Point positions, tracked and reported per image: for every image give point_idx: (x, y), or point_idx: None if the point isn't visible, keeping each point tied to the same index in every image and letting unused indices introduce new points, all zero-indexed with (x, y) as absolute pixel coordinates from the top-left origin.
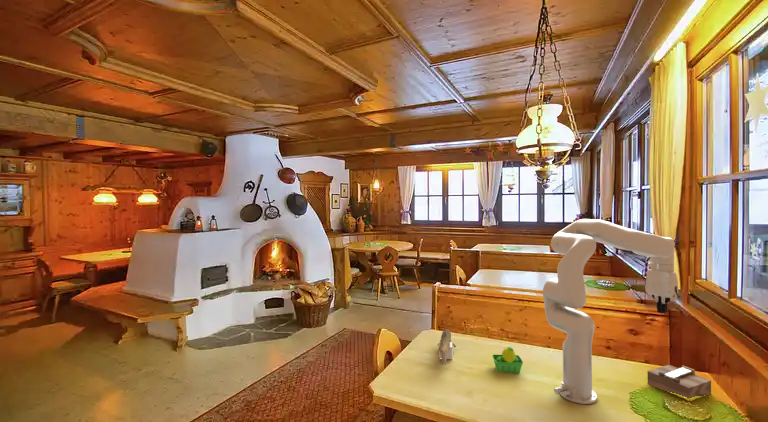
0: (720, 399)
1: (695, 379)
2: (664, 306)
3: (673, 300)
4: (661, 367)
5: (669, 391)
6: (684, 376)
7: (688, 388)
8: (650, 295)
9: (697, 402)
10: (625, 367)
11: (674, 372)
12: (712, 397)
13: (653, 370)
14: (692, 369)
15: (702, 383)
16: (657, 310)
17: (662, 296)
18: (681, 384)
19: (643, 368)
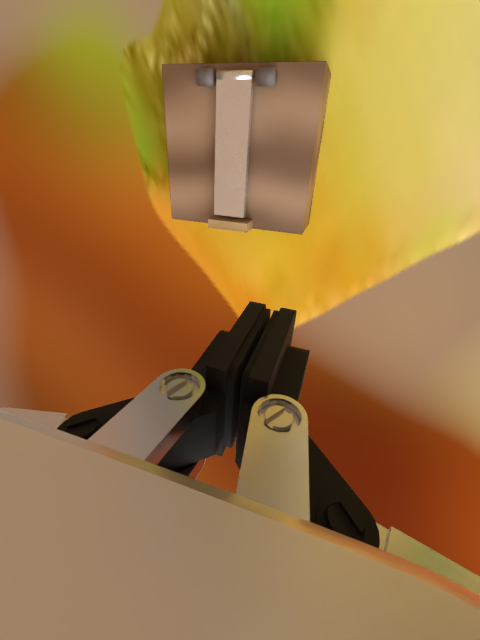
0: (166, 196)
1: (193, 178)
2: (199, 360)
3: (18, 415)
4: (306, 176)
5: None
6: None
7: (165, 64)
8: (426, 559)
9: None
10: (465, 153)
11: (238, 138)
12: None
13: (312, 101)
14: (213, 222)
15: (168, 165)
16: (290, 318)
17: (54, 430)
18: (189, 70)
19: (400, 217)
